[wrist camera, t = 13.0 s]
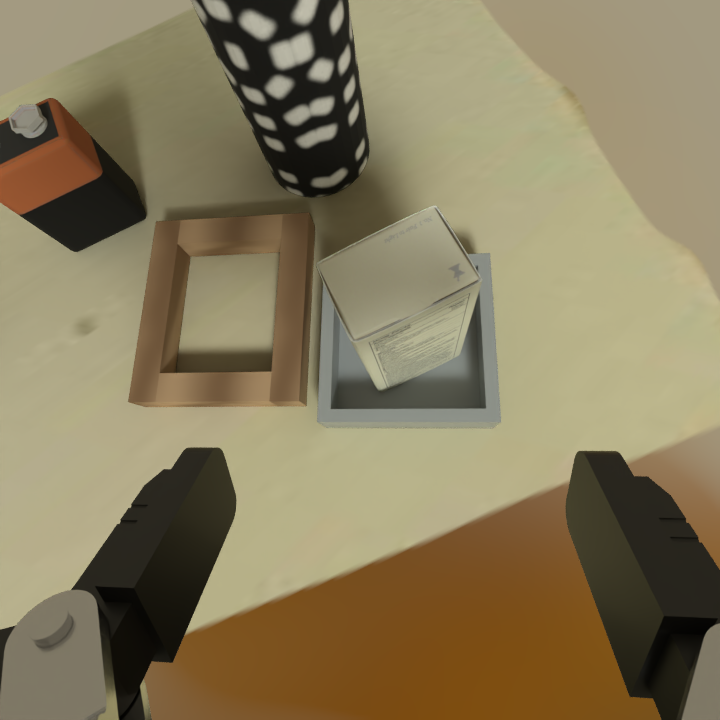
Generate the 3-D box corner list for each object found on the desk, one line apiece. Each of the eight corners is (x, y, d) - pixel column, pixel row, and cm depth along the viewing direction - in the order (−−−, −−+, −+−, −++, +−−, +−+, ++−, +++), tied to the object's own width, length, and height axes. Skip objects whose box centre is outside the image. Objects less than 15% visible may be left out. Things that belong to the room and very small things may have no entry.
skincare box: (432, 303, 32) (439, 197, 20) (462, 358, 30) (489, 278, 19) (350, 342, 32) (311, 258, 20) (377, 398, 30) (351, 344, 19)
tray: (326, 427, 31) (317, 422, 28) (332, 279, 34) (324, 260, 31) (493, 428, 29) (501, 422, 26) (483, 273, 32) (489, 253, 29)
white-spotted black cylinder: (341, 211, 35) (247, -116, 16) (251, 178, 37) (72, -149, 18) (386, 127, 37) (351, -262, 18) (298, 100, 39) (180, -278, 19)
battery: (150, 220, 37) (57, 129, 28) (75, 256, 37) (-43, 177, 28) (135, 181, 39) (42, 80, 29) (63, 215, 38) (-54, 126, 29)
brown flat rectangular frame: (145, 406, 33) (128, 402, 31) (170, 235, 37) (156, 221, 35) (306, 406, 31) (299, 400, 29) (315, 227, 35) (309, 212, 33)
